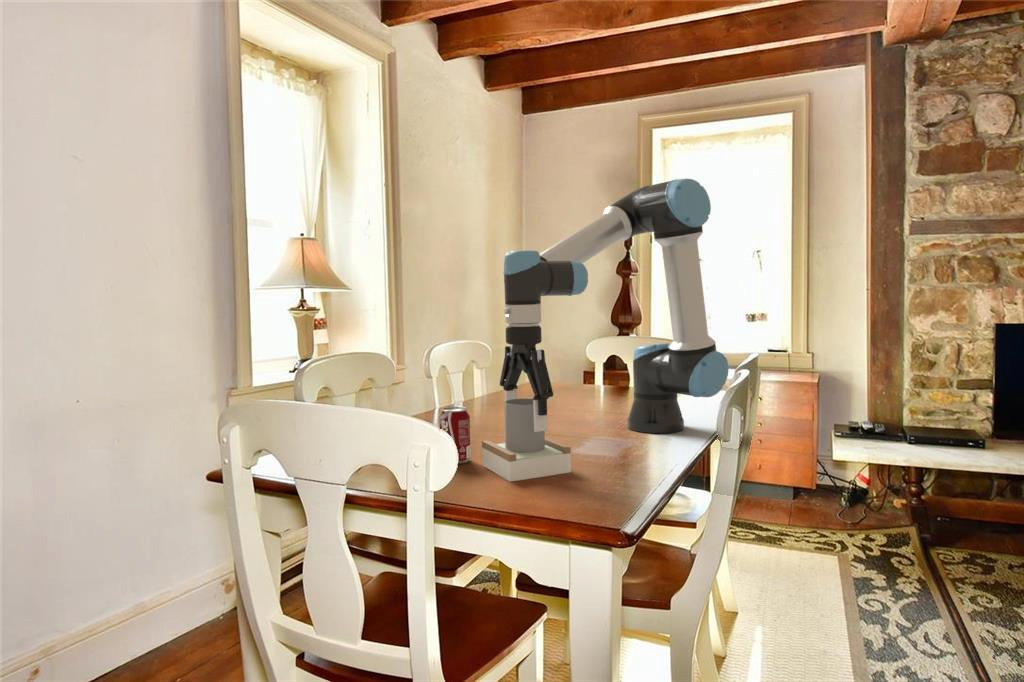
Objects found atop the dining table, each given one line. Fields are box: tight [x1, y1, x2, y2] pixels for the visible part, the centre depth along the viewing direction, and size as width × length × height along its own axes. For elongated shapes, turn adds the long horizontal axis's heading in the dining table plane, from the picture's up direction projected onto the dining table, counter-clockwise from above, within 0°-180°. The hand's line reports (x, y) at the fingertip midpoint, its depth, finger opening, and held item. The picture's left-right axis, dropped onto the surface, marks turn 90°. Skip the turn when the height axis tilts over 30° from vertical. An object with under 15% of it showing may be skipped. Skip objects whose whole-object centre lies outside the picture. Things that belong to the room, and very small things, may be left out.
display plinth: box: [481, 436, 572, 483], centre depth 137 cm, size 14×14×5 cm
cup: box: [504, 398, 546, 453], centre depth 136 cm, size 8×8×10 cm
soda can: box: [438, 406, 472, 465], centre depth 143 cm, size 7×7×12 cm
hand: (525, 425), depth 136 cm, fingers open, 13 cm apart
